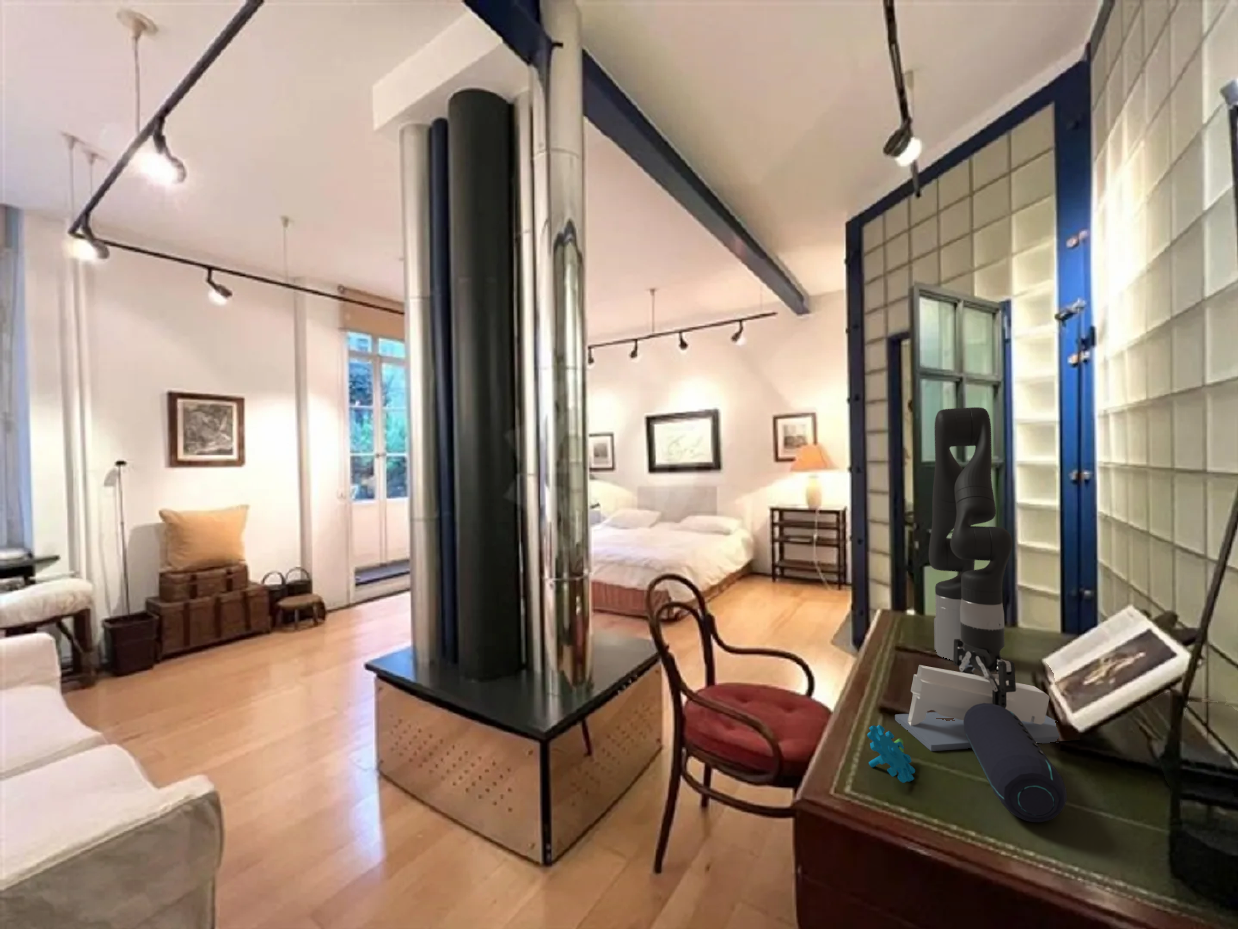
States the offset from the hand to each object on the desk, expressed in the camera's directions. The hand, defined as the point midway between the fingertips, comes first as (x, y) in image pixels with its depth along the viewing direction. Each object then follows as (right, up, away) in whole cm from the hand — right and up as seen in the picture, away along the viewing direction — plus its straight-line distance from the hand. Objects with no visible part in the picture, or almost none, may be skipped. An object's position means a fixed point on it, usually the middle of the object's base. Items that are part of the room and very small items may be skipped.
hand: (983, 698), depth 109 cm
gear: (-26, -8, -13) cm, 30 cm away
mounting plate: (0, -7, 0) cm, 7 cm away
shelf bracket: (-1, -6, 0) cm, 6 cm away
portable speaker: (-7, -8, -17) cm, 20 cm away
